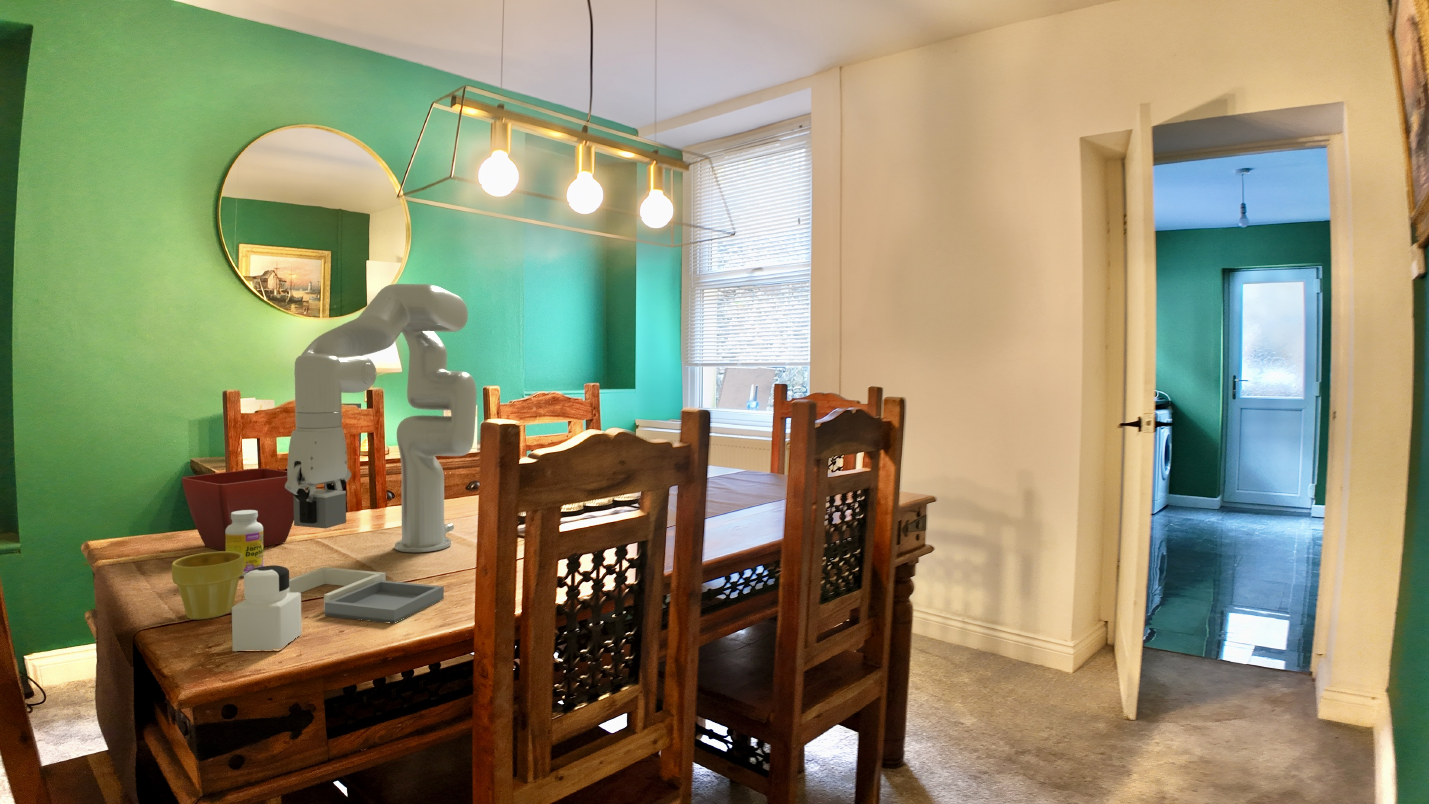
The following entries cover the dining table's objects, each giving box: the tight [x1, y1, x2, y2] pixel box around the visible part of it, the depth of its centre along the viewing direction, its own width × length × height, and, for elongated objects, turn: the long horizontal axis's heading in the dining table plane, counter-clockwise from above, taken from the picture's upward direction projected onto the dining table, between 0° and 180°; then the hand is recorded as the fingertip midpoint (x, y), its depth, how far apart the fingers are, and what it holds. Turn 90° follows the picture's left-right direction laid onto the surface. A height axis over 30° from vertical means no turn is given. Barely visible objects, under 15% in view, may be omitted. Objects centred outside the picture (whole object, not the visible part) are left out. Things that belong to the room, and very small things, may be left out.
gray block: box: [293, 488, 347, 529], centre depth 137 cm, size 5×7×6 cm
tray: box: [324, 580, 445, 624], centre depth 134 cm, size 14×14×2 cm
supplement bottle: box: [225, 510, 264, 578], centre depth 154 cm, size 7×7×13 cm
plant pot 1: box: [181, 467, 299, 551], centre depth 177 cm, size 19×19×17 cm
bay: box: [288, 566, 387, 612], centre depth 140 cm, size 15×14×3 cm
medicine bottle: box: [230, 564, 302, 652], centre depth 116 cm, size 7×7×12 cm
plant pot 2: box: [171, 550, 244, 620], centre depth 129 cm, size 10×10×10 cm
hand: (320, 518), depth 137 cm, fingers closed on gray block, 5 cm apart
